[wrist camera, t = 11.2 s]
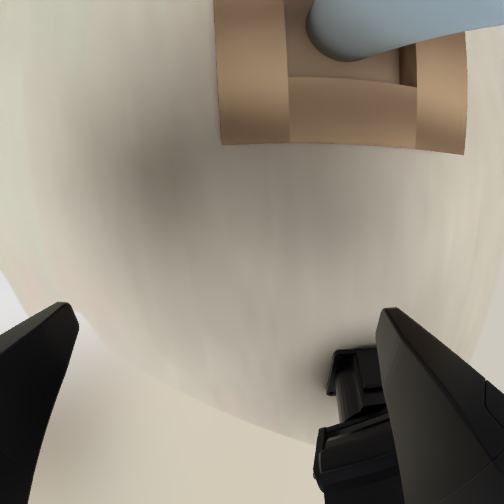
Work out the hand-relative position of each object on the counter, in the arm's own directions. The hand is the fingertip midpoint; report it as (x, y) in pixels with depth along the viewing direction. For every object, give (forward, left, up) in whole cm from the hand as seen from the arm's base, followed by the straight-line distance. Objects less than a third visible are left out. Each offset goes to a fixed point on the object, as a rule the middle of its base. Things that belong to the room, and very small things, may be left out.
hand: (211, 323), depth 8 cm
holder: (+10, -6, -13) cm, 17 cm away
